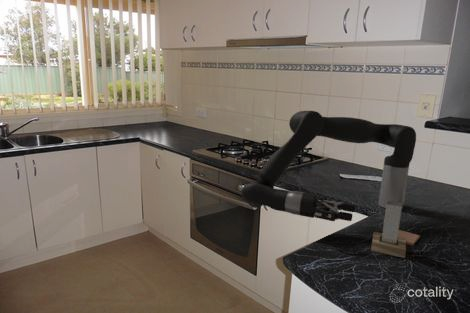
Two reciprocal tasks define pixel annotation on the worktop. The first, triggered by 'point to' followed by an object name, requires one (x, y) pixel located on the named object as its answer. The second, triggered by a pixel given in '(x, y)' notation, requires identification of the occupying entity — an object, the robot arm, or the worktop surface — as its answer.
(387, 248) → the socket block
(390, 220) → the grey tapered block
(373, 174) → the worktop surface
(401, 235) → the tile
